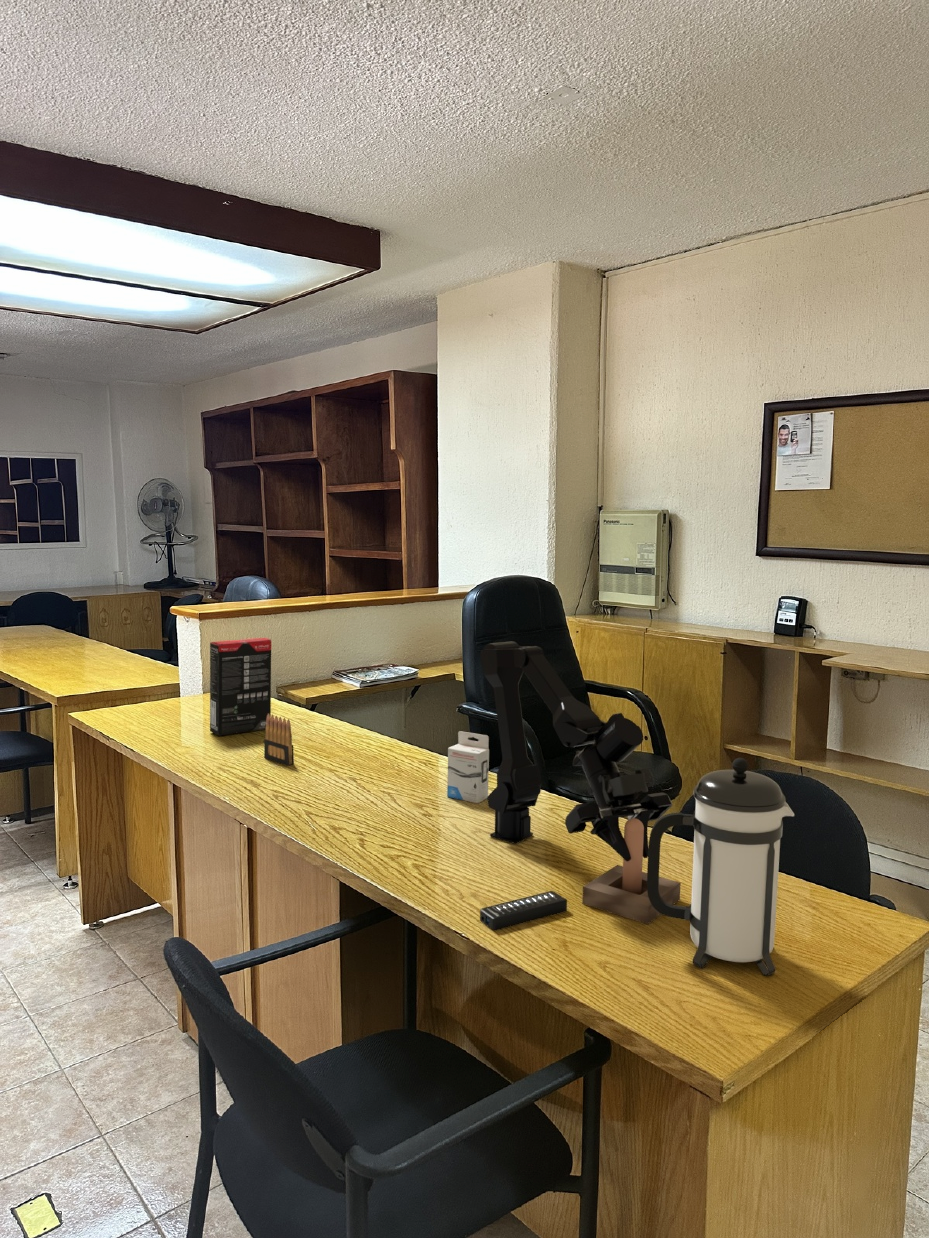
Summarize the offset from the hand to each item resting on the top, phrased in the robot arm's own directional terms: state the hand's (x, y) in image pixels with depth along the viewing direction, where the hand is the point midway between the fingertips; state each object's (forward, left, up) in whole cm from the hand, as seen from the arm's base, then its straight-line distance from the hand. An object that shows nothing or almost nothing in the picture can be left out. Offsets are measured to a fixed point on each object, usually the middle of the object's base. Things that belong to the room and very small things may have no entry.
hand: (637, 858), depth 148 cm
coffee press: (+18, -7, -8) cm, 21 cm away
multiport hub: (-12, -15, -9) cm, 21 cm away
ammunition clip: (-112, +19, -8) cm, 114 cm away
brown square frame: (-1, +1, -8) cm, 8 cm away
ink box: (-56, +27, -8) cm, 63 cm away
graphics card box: (-145, +33, -8) cm, 149 cm away
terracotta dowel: (-1, +1, -7) cm, 7 cm away
